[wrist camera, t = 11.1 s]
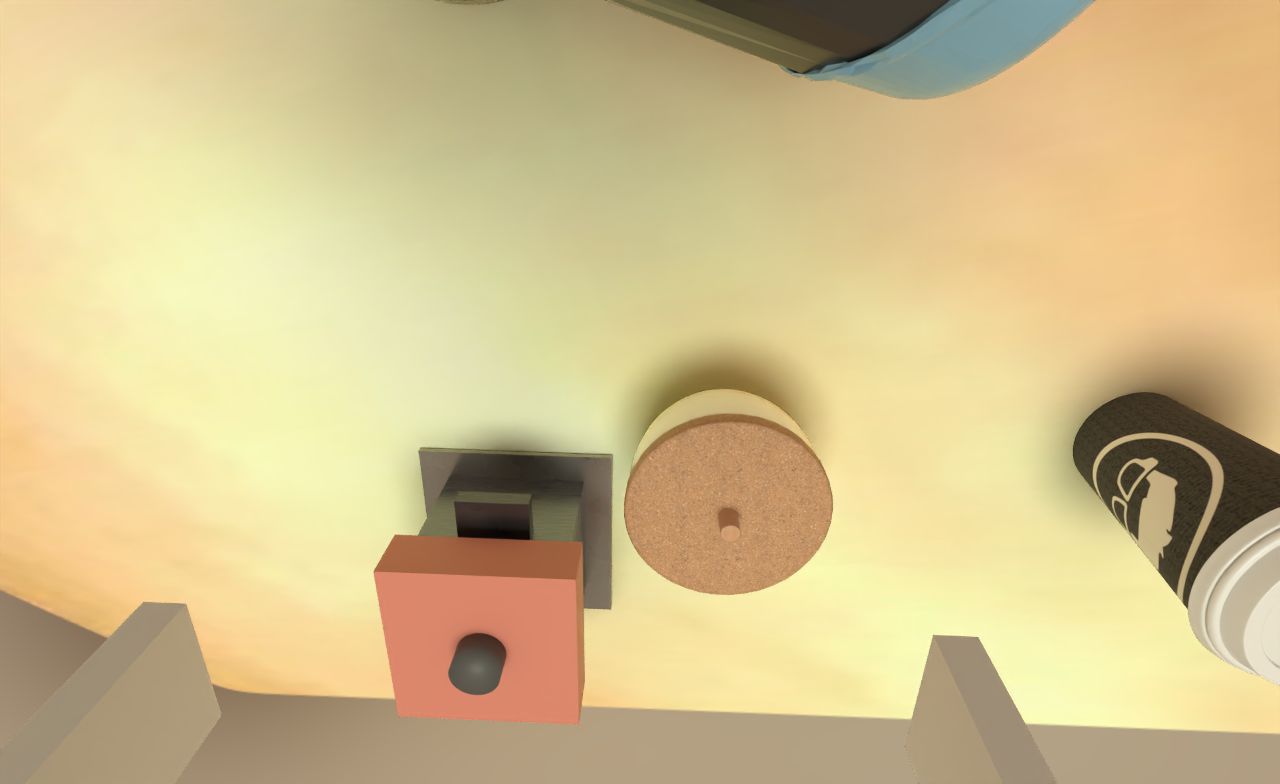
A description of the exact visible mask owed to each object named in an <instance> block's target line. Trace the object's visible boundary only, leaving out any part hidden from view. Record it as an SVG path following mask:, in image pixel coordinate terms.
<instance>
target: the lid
mask: <svg viewBox="0 0 1280 784" xmlns="http://www.w3.org/2000/svg"><path fill="white" fill-rule="evenodd" d="M374 577H375V583H376V589H377V594H378V600H379V606H380V612H381V618H382V624H383V629H384V635H385V641H386V647H387V653H388V658H389V664H390V670H391V676H392V682H393V688H394V693H395V699H396V705H397V711H398V716H403V717H425V718H447V719H469V720H492V721H513V722H536V723H558V724H579V719H580V712H581V705H582V697H583V690H584V683H585V670H584V606H583V542H564V541H539V540H513V539H488V538H462V537H437V536H412V535H395V536H394V537H393V539H392V541H391V542H390V544H389V546H388V548H387V549H386V551H385V553H384V554H383V556H382V558H381V560H380V561H379V563H378V565H377V567H376V568H375V570H374Z"/></svg>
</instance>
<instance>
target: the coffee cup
mask: <svg viewBox="0 0 1280 784" xmlns="http://www.w3.org/2000/svg"><path fill="white" fill-rule="evenodd" d="M1073 457H1074V462H1075V465H1076V467H1077V469H1078V471H1079V472H1080V473H1081V475H1082V476H1083V477H1084V479H1085V480H1086V481H1087V482H1088V484H1089V485H1090V486H1091V487H1092V489H1093V490H1094V491H1095V492H1096V494H1097V495H1098V496H1099V497H1100V499H1101V500H1102V501H1103V502H1104V504H1105V505H1106V506H1107V507H1108V509H1109V510H1110V511H1111V513H1112V514H1113V515H1114V516H1115V518H1116V519H1117V520H1118V521H1119V523H1120V524H1121V525H1122V526H1123V528H1124V529H1125V530H1126V531H1127V533H1128V534H1129V535H1130V536H1131V538H1132V539H1133V540H1134V541H1135V543H1136V544H1137V545H1138V547H1139V548H1140V549H1141V550H1142V552H1143V553H1144V554H1145V555H1146V557H1147V558H1148V559H1149V560H1150V562H1151V563H1152V564H1153V566H1154V567H1155V568H1156V569H1157V571H1158V572H1159V573H1160V574H1161V576H1162V577H1163V578H1164V579H1165V581H1166V582H1167V583H1168V585H1169V586H1170V587H1171V588H1172V590H1173V591H1174V592H1175V594H1176V595H1177V596H1178V597H1179V599H1180V600H1181V601H1182V603H1183V604H1184V605H1185V606H1186V608H1187V609H1188V616H1189V621H1190V625H1191V628H1192V630H1193V632H1194V634H1195V636H1196V638H1197V639H1198V640H1199V642H1200V643H1201V644H1202V645H1203V646H1204V647H1205V648H1206V649H1207V650H1209V651H1210V652H1211V653H1213V654H1214V655H1216V656H1217V657H1219V658H1220V659H1222V660H1223V661H1225V662H1227V663H1228V664H1230V665H1232V666H1234V667H1237V668H1239V669H1241V670H1243V671H1245V672H1248V673H1250V674H1253V675H1257V676H1261V677H1263V678H1264V679H1266V680H1268V681H1270V682H1272V683H1274V684H1277V685H1279V686H1280V454H1278V453H1276V452H1274V451H1272V450H1270V449H1268V448H1266V447H1264V446H1262V445H1260V444H1258V443H1256V442H1254V441H1252V440H1251V439H1249V438H1247V437H1245V436H1243V435H1241V434H1239V433H1237V432H1235V431H1233V430H1231V429H1229V428H1227V427H1225V426H1223V425H1221V424H1219V423H1217V422H1215V421H1213V420H1211V419H1209V418H1208V417H1206V416H1204V415H1202V414H1200V413H1198V412H1196V411H1194V410H1192V409H1190V408H1188V407H1186V406H1184V405H1182V404H1180V403H1178V402H1176V401H1174V400H1172V399H1170V398H1168V397H1166V396H1163V395H1160V394H1155V393H1135V394H1130V395H1126V396H1123V397H1120V398H1117V399H1115V400H1113V401H1111V402H1109V403H1107V404H1105V405H1104V406H1102V407H1101V408H1099V409H1098V410H1097V411H1095V412H1094V413H1093V414H1092V415H1091V416H1090V417H1089V418H1088V419H1087V420H1086V421H1085V423H1084V424H1083V425H1082V427H1081V428H1080V430H1079V432H1078V434H1077V436H1076V439H1075V442H1074V448H1073Z"/></svg>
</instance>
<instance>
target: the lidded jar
mask: <svg viewBox="0 0 1280 784" xmlns="http://www.w3.org/2000/svg"><path fill="white" fill-rule="evenodd" d="M832 512H833V500H832V492H831V487H830V483H829V480H828V477H827V475H826V473H825V470H824V468H823V466H822V464H821V462H820V460H819V459H818V457H817V456H816V454H815V452H814V450H813V448H812V446H811V443H810V442H809V440H808V439H807V437H806V436H805V435H804V433H803V432H802V430H801V429H800V427H799V426H798V425H797V424H796V423H795V422H794V421H793V420H792V419H791V418H790V417H789V416H788V415H787V414H786V413H785V412H784V411H783V410H782V409H780V408H779V407H778V406H776V405H775V404H773V403H772V402H770V401H768V400H766V399H764V398H762V397H760V396H757V395H754V394H751V393H748V392H745V391H739V390H733V389H715V390H706V391H703V392H699V393H695V394H692V395H690V396H687V397H685V398H683V399H681V400H679V401H678V402H676V403H674V404H673V405H671V406H670V407H668V408H667V409H666V410H665V411H664V412H662V413H661V414H660V415H659V416H658V417H657V418H656V419H655V420H654V422H653V423H652V424H651V425H650V426H649V428H648V430H647V431H646V433H645V435H644V436H643V438H642V440H641V441H640V443H639V446H638V448H637V451H636V454H635V456H634V459H633V462H632V467H631V472H630V477H629V480H628V483H627V488H626V494H625V501H624V517H625V523H626V528H627V531H628V534H629V537H630V539H631V542H632V544H633V545H634V547H635V549H636V550H637V552H638V554H639V555H640V556H641V557H642V558H643V560H644V561H645V562H646V563H647V564H648V565H649V566H650V567H651V568H652V569H654V570H655V571H656V572H657V573H658V574H660V575H662V576H663V577H665V578H666V579H668V580H669V581H671V582H673V583H675V584H678V585H680V586H682V587H685V588H688V589H691V590H694V591H698V592H703V593H710V594H721V595H733V594H743V593H748V592H753V591H758V590H762V589H764V588H767V587H770V586H772V585H775V584H777V583H779V582H781V581H783V580H785V579H787V578H788V577H790V576H791V575H793V574H794V573H795V572H797V571H798V570H800V569H801V568H802V567H803V566H804V565H805V564H806V563H807V562H808V561H809V560H810V559H811V558H812V557H813V556H814V554H815V553H816V552H817V551H818V549H819V548H820V546H821V544H822V543H823V541H824V539H825V537H826V535H827V532H828V529H829V526H830V524H831V518H832Z"/></svg>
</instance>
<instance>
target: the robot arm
mask: <svg viewBox="0 0 1280 784" xmlns="http://www.w3.org/2000/svg"><path fill="white" fill-rule="evenodd" d="M437 1H442V2H447V3H454V4H467V5H470V4H487V3H494V2H499V1H503V0H437ZM606 1H609V2H611V3H614V4H617V5H620V6H622V7H625V8H628V9H630V10H633V11H636V12H638V13H641V14H644V15H646V16H649V17H652V18H655V19H657V20H660V21H663V22H665V23H668V24H671V25H673V26H676V27H679V28H681V29H684V30H687V31H689V32H692V33H695V34H698V35H700V36H703V37H706V38H708V39H711V40H714V41H716V42H719V43H722V44H724V45H727V46H730V47H733V48H735V49H738V50H741V51H743V52H746V53H749V54H751V55H754V56H757V57H759V58H762V59H765V60H767V61H770V62H773V63H776V64H778V65H779V66H780V67H781V68H782V69H783V70H785V71H786V72H788V73H789V74H791V75H794V76H796V77H801V76H804V77H805V78H807V79H809V80H811V81H830V80H836V81H839V82H843V83H846V84H850V85H853V86H857V87H860V88H863V89H867V90H870V91H873V92H877V93H880V94H883V95H886V96H890V97H894V98H899V99H933V98H938V97H943V96H947V95H951V94H954V93H957V92H961V91H963V90H966V89H969V88H971V87H973V86H976V85H978V84H980V83H983V82H985V81H987V80H989V79H991V78H993V77H995V76H996V75H998V74H1000V73H1001V72H1003V71H1005V70H1007V69H1008V68H1010V67H1012V66H1013V65H1015V64H1016V63H1018V62H1019V61H1021V60H1023V59H1024V58H1026V57H1027V56H1028V55H1030V54H1031V53H1032V52H1034V51H1035V50H1037V49H1038V48H1039V47H1041V46H1042V45H1043V44H1045V43H1046V42H1047V41H1048V40H1050V39H1051V38H1052V37H1054V36H1055V35H1056V34H1057V33H1059V32H1060V31H1061V30H1062V29H1063V28H1065V27H1066V26H1067V25H1068V24H1069V23H1071V22H1072V21H1073V20H1074V19H1075V18H1076V17H1078V16H1079V15H1080V14H1081V13H1082V12H1083V11H1084V10H1085V9H1087V8H1088V7H1089V6H1090V5H1091V4H1092V3H1093V2H1094V1H1095V0H606ZM220 716H221V712H220V708H219V705H218V702H217V699H216V696H215V693H214V690H213V686H212V683H211V680H210V677H209V674H208V671H207V668H206V665H205V661H204V658H203V655H202V652H201V649H200V646H199V643H198V639H197V636H196V633H195V630H194V627H193V624H192V621H191V618H190V614H189V611H188V608H187V605H186V604H178V603H155V602H143V603H142V604H141V605H140V606H139V607H138V608H137V609H136V610H135V611H134V612H133V613H132V614H131V615H130V616H129V618H128V619H127V620H126V621H125V622H124V623H123V624H122V625H121V626H120V627H119V628H118V629H117V630H116V631H115V632H114V633H113V634H112V635H111V636H110V637H109V638H108V639H107V640H106V641H105V642H104V643H103V644H102V645H101V646H100V647H99V648H98V649H97V650H96V651H95V652H94V653H93V654H92V655H91V656H90V658H88V659H87V661H85V663H84V664H83V665H82V666H81V667H80V668H79V669H78V670H77V671H76V672H75V673H74V674H73V675H72V676H71V677H70V678H69V679H68V680H67V681H66V682H65V683H64V684H63V685H62V686H61V687H60V688H59V689H58V690H57V691H56V692H55V693H54V694H53V695H52V696H51V697H50V698H49V699H48V700H47V701H46V702H45V703H44V705H42V707H41V708H40V709H39V710H38V711H37V712H36V713H35V714H34V715H33V716H32V717H31V718H30V719H29V720H28V721H27V722H26V723H25V724H24V725H23V726H22V727H21V728H20V729H19V730H18V731H17V732H16V733H15V734H14V735H13V736H12V737H11V738H10V739H9V740H8V741H7V742H6V743H5V744H4V745H3V746H2V747H1V748H0V784H174V783H175V782H176V780H177V779H178V778H179V776H180V775H181V773H182V772H183V770H184V769H185V767H186V766H187V765H188V763H189V762H190V760H191V759H192V757H193V756H194V754H195V753H196V752H197V750H198V748H199V747H200V746H201V744H202V743H203V741H204V740H205V738H206V737H207V736H208V734H209V733H210V731H211V730H212V728H213V727H214V725H215V724H216V722H217V721H218V719H219V718H220ZM905 748H906V751H907V754H908V757H909V760H910V763H911V766H912V768H913V771H914V774H915V777H916V780H917V783H918V784H1058V783H1057V782H1056V779H1055V777H1054V776H1053V774H1052V772H1051V770H1050V768H1049V766H1048V765H1047V763H1046V761H1045V759H1044V757H1043V755H1042V754H1041V752H1040V750H1039V748H1038V746H1037V744H1036V743H1035V741H1034V739H1033V737H1032V735H1031V733H1030V732H1029V730H1028V728H1027V726H1026V724H1025V722H1024V721H1023V719H1022V717H1021V715H1020V713H1019V711H1018V709H1017V708H1016V706H1015V704H1014V702H1013V700H1012V698H1011V697H1010V695H1009V693H1008V691H1007V689H1006V687H1005V686H1004V684H1003V682H1002V680H1001V678H1000V676H999V675H998V673H997V671H996V669H995V667H994V665H993V664H992V662H991V660H990V658H989V656H988V654H987V653H986V651H985V649H984V647H983V645H982V643H981V641H980V640H979V638H978V637H966V636H942V635H933V638H932V642H931V646H930V650H929V654H928V658H927V662H926V665H925V669H924V673H923V677H922V681H921V685H920V689H919V693H918V696H917V700H916V704H915V708H914V712H913V716H912V720H911V724H910V728H909V731H908V736H907V739H906V743H905Z"/></svg>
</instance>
